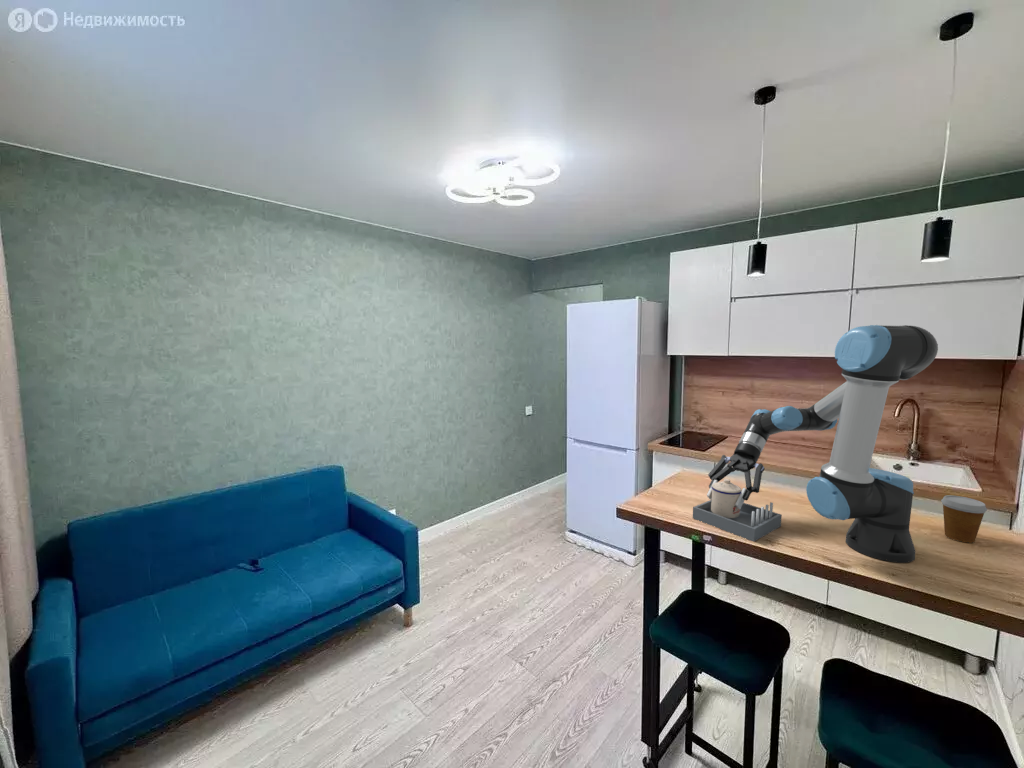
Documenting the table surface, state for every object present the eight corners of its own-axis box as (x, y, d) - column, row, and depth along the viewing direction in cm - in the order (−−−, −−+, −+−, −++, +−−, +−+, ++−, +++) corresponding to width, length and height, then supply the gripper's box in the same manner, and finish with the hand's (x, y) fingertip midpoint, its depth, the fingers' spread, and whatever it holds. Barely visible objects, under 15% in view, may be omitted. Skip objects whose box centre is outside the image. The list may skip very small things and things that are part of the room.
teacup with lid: (739, 521, 134) (741, 486, 132) (708, 514, 139) (710, 481, 137) (742, 508, 144) (744, 475, 142) (713, 502, 149) (714, 471, 147)
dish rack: (780, 526, 135) (782, 502, 135) (753, 541, 125) (755, 516, 124) (720, 506, 152) (721, 485, 151) (692, 518, 142) (693, 495, 141)
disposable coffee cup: (969, 547, 121) (974, 508, 120) (929, 533, 130) (933, 496, 129) (991, 543, 124) (996, 504, 123) (950, 529, 133) (954, 493, 132)
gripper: (786, 461, 139) (760, 519, 131) (722, 447, 156) (696, 497, 149) (780, 448, 135) (753, 507, 128) (715, 435, 153) (688, 486, 145)
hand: (723, 502), depth 138 cm, fingers closed on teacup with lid, 9 cm apart
